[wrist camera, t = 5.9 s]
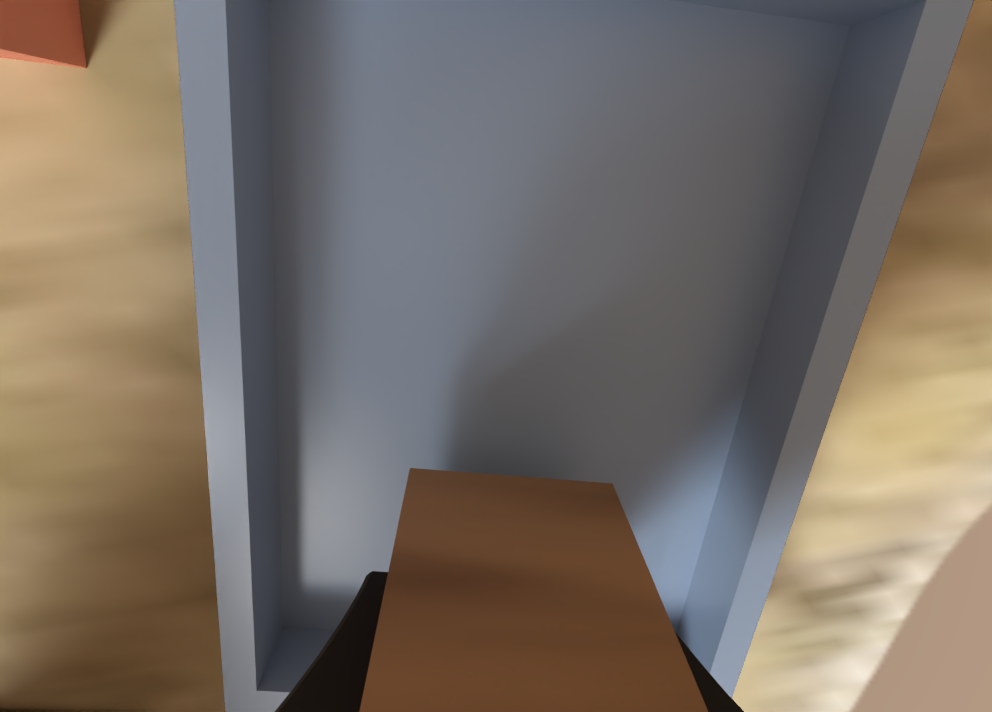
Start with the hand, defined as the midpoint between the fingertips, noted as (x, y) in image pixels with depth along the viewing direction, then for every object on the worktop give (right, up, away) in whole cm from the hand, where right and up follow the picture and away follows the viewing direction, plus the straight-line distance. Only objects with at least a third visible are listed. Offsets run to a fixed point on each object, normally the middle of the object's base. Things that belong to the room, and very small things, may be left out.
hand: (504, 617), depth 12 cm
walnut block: (0, +1, +1) cm, 2 cm away
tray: (0, +5, +3) cm, 6 cm away
